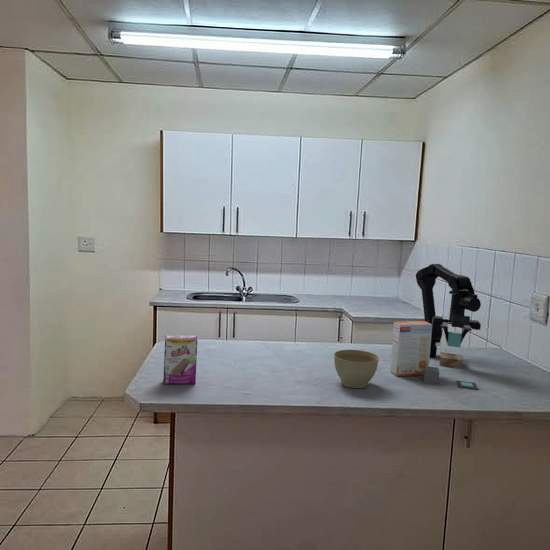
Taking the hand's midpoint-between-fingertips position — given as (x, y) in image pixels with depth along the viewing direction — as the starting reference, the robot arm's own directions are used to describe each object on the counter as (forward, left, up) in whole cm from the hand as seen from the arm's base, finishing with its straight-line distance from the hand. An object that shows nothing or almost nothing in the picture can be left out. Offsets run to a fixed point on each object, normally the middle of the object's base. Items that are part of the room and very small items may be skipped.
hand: (453, 342), depth 209 cm
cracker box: (-18, -17, -11) cm, 27 cm away
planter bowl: (-38, -38, -11) cm, 54 cm away
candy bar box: (-97, -60, -11) cm, 114 cm away
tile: (+3, -23, -11) cm, 25 cm away
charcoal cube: (-10, -23, -11) cm, 27 cm away
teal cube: (0, 0, -1) cm, 1 cm away
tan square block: (0, +4, -11) cm, 12 cm away
